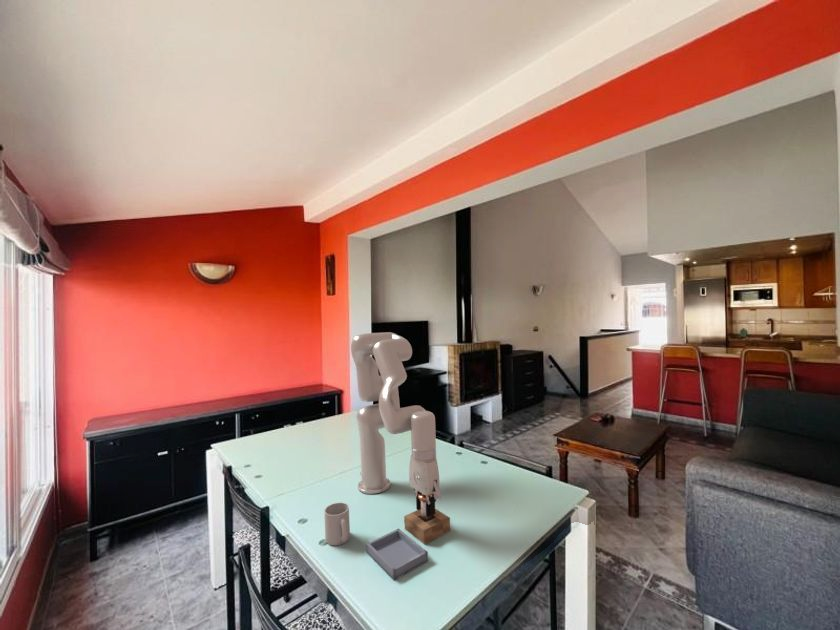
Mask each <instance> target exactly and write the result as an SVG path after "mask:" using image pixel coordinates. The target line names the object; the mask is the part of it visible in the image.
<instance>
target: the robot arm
mask: <svg viewBox="0 0 840 630" xmlns="http://www.w3.org/2000/svg"><path fill="white" fill-rule="evenodd" d="M350 351H351V353H350V354H351V356H352V360H353V362H354V364H355V369H356V370H355V371H356V381H357V382H356V383H357V391H358V397H359V399H360V401H361V402H363V403H370V402H371V403H372V402H378V403H375V404H370V405H366V406H363V407H361V408H360V409H359V410H358V411H357V413H356V423H357V427H358V432H359V446H360V473H359V475H360V476H361V480H360V482H359V483H358V484H357V489H358V491H359V492H360V493H363V494H367V495H371V494H372V495H374V494H375V495H376V494H380V493H383V492H385V491H387V490H388V489H389V488H391V480H390V479H389V478H388V477H387V467H386V466H387V465H386V462H387V461H386V444H385V443H386V442H385V441H386V440H385V438H384V436H383V435H382V434H381V433H380V431H379V430H380V429H386V431H387V432H388V433H389V434H391V435H397V434H403V433H406V432H410V433H411V434H410V436H411V437H410V438H411V439H410V441H411V444H410V445H411V455H410V459H409V468H408V469H409V471H408V477H409V478H408V481H409V486H411V487H412V489H413V490H414V496H415V501H416V502H415V503H416V504H415V505H416V508H415V509H416V511H417V510H420V509H421V501H420V500H419V499H418V494H419V493H420V492H421V493H422V494H424V495H426V499H427V503H426V516H427V517H429V516H431V515H433V514H435V509H436V502H437V500H439V499H441V498H442V494H441V491H440V488H441V487H440V483H441V482H440V472H439V471H440V470H439V465H438V461H437V444H436V443H437V442H436V441H437V438H436V437H437V436H436V417H435V414H434V413H433V412H431V411H429V410H426V409H425V408H424V407H422V405H409V406H405V407H401V406H400V396H399V393H400V392H399V386H401V385H402V384H403V383H405V381H406V380H407V377H408V375H407V372H406V368H405V367H404V365H403V362H405V361H409V360H410V359H411V357H413V356H412V355H413V348H412V345H411V344H410V342H409V341H408V339H406V338H404V337H403V336H401V335H398V334H397V333H394V332H391V331H389V332H387V331H386V332H384V331H383V332H370V333H362V334H357V335H356V336H354V337H353V338H352V340H351V343H350ZM372 356H373V357H374V358H373V357H372ZM431 494H432V497H431V498H430V495H431Z"/></svg>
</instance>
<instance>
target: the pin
mask: <svg viewBox="0 0 840 630" xmlns="http://www.w3.org/2000/svg"><path fill="white" fill-rule="evenodd" d="M431 497H432V494H431V495H430V498H431ZM418 499H419V500H420V501H421V519H422V520H423V521H424V522H428V521H430V520H431V516H429V517H427V516H426V503H427V499H426V495H424V494H422V493H421V492H420V493H419V494H418Z"/></svg>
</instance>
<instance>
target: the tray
mask: <svg viewBox="0 0 840 630" xmlns="http://www.w3.org/2000/svg"><path fill="white" fill-rule="evenodd" d="M365 545H366V546H365V548H366V549H365V550H366V554H367V555H368V556H369V557H370V558H371V559H372V560H374V561H375V563H376V564H377V565H378V566H379V567H380V568H381V570H383V571H384V572H385V573H386V575H387V576H389V578H391V579H392V580H393V581H395V580H397V579H399V578H400V577H402V576H404V575H405V574H408V573H410V572H411V571H413V570H414V569H417V567H421V566H422V565H423V564H425V563H427V562H429V552H428V551H427V550H426V549H425V548H423V547H422V546H421V545H420V544H419V543H417V542H416V541H415V540H413V539H412V538H411V537H410V536H409V535H408V534H406V533H405V532H404V531H403V530H401V529H400V528H397V529H395V530H393V531H390V532H388V533H387V534H384V535H382V536H380V537H377V538H375V539H373V540H372V541H369V542H367V543H366V544H365Z"/></svg>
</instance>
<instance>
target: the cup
mask: <svg viewBox="0 0 840 630" xmlns="http://www.w3.org/2000/svg"><path fill="white" fill-rule="evenodd" d="M323 513H324V534H325V535H324V537H325V538H324V539H325V542H326V544H328V545H329V546H333V547H334V546H335V547H336V546H340V545H341V546H342V545H343V544H345V543H346V542H348V540H349V539H350V537H351V529H350V528H351V527H350V526H351V525H350V523H351V522H350V506H349V504H348V503H345V502H335V503H331V504H329V505H327V506H326V507H325V508H324V512H323Z"/></svg>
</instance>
